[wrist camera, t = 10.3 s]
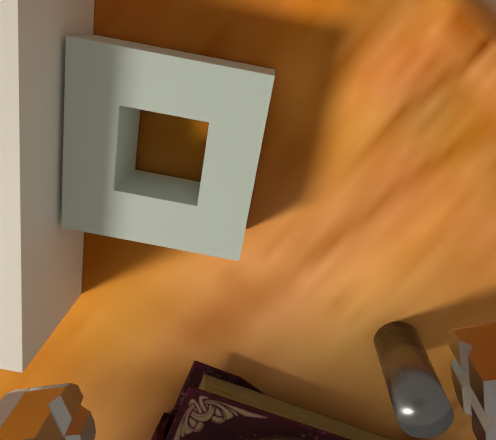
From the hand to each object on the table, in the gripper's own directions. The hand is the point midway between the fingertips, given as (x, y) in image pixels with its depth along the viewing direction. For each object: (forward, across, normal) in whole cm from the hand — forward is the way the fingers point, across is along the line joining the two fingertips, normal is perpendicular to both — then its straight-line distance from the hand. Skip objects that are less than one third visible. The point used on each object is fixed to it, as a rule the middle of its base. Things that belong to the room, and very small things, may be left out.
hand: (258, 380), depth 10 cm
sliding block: (+19, +5, -2) cm, 20 cm away
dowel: (+19, -6, +14) cm, 25 cm away
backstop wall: (+19, +11, -5) cm, 23 cm away
